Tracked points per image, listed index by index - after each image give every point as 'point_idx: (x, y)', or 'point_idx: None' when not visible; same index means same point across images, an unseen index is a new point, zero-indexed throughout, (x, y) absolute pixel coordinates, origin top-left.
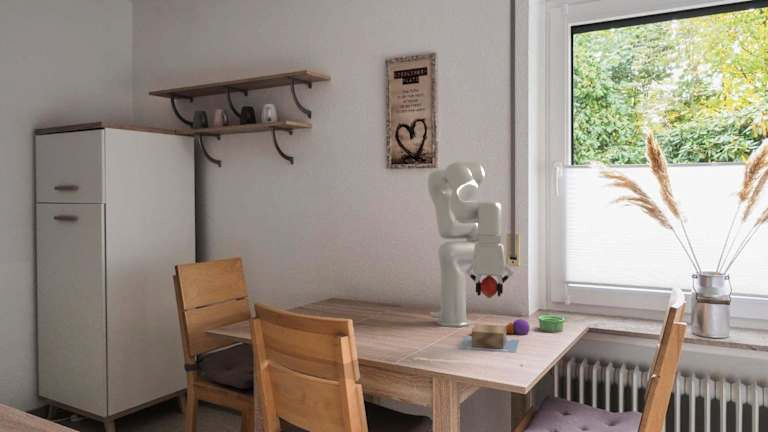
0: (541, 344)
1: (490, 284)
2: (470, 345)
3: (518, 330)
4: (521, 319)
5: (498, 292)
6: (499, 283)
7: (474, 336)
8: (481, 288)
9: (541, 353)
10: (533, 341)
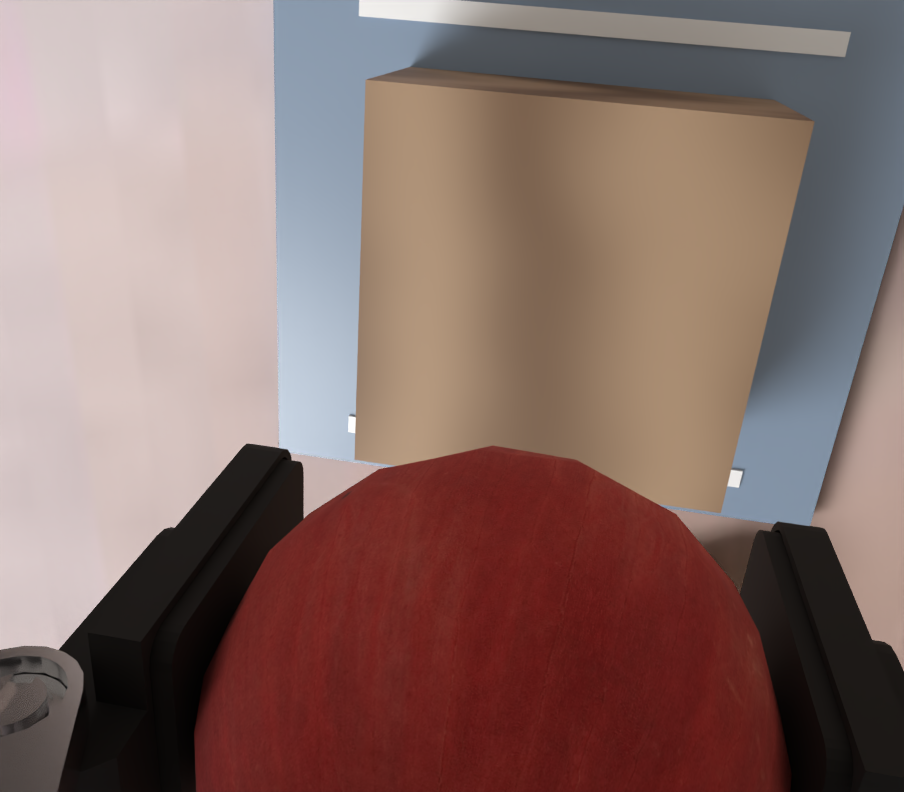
0: (96, 392)
1: (408, 597)
2: None
3: None
4: None
5: (244, 489)
6: (105, 718)
7: (760, 109)
8: (742, 608)
9: (51, 74)
10: (171, 479)
